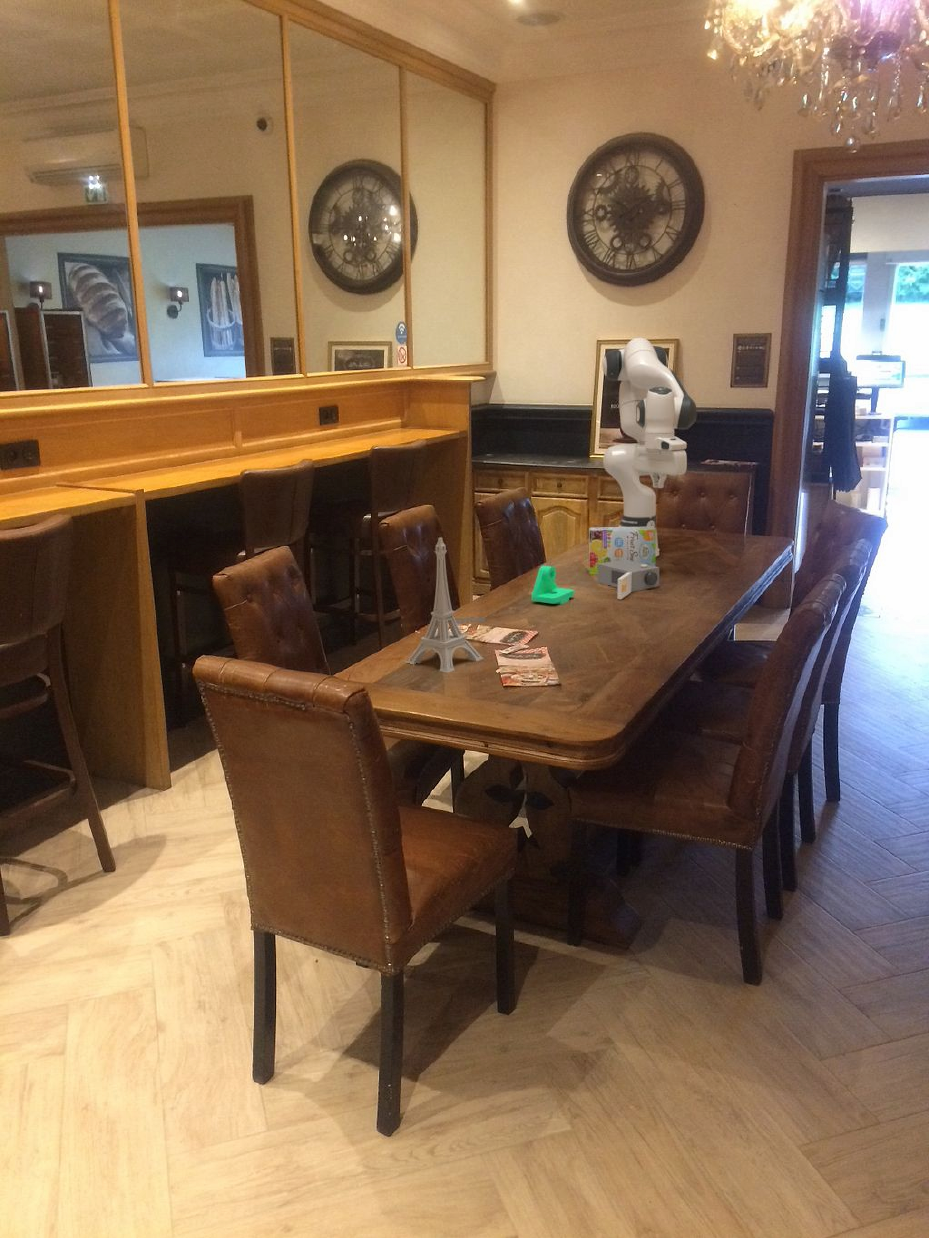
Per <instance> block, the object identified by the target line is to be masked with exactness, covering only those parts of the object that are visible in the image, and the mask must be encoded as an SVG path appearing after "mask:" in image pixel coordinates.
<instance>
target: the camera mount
mask: <svg viewBox="0 0 929 1238" xmlns="http://www.w3.org/2000/svg"><path fill="white" fill-rule="evenodd" d="M556 572H557V571H556V568H555V567H554V566H550V565H549V566H548V565H541V566H540V567H539V569H538V573H537V576H536V580H535V583H534V586H533V590H532V593H531V601H532V602H537V603H538V602H540V603H544V604H545V603H546V604H552V605H553V604H556V605H563V604H566V603H567V602H569V601H570V598H571V597H574V596H575V589H570V588H562V587H558V586H557V585H558V584H557V583H556V581H555V578H556V575H557V573H556Z"/></svg>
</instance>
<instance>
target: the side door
mask: <svg viewBox="0 0 929 1238" xmlns="http://www.w3.org/2000/svg"><path fill="white" fill-rule="evenodd" d="M631 593H632V572H627V573H626V574H624V575H623V576H621V577H620V578H618V588H617V597H616V598H617V600H623V599H624V598H626V597H627V596H628V595H630V594H631Z"/></svg>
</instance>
